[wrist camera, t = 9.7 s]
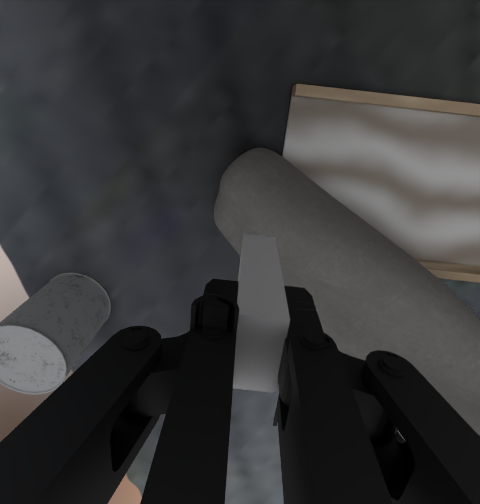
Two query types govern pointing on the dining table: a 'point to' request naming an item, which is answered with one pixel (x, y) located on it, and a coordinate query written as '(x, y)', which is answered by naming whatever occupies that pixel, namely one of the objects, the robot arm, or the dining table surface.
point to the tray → (396, 168)
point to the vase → (354, 276)
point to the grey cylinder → (51, 333)
